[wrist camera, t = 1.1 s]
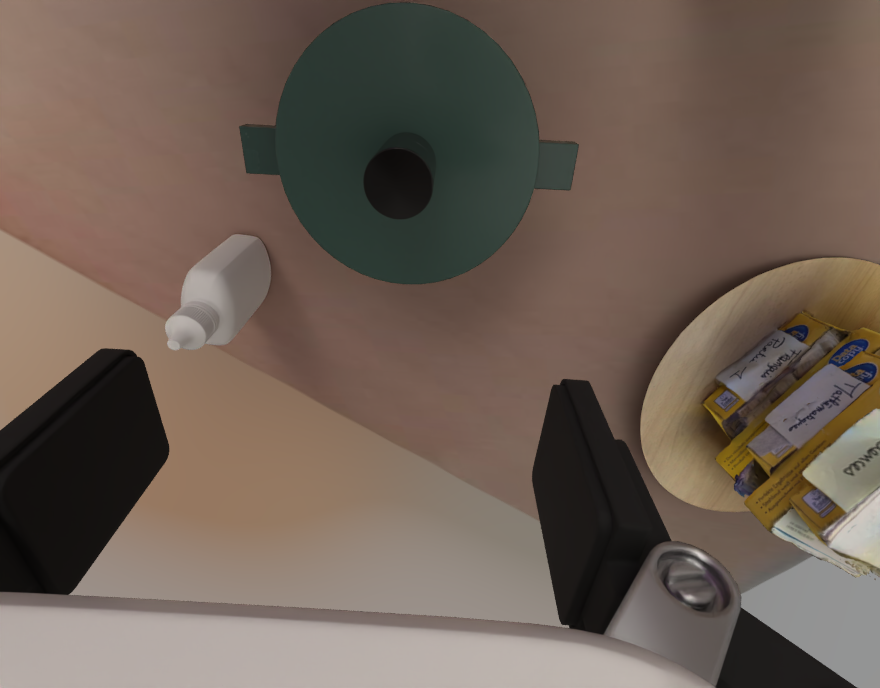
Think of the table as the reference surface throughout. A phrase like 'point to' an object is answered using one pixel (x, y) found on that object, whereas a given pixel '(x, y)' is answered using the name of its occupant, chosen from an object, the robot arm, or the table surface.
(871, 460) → the boxes on wooden plate
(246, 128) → the pot
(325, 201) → the lid
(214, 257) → the eye dropper bottle
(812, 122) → the table surface
